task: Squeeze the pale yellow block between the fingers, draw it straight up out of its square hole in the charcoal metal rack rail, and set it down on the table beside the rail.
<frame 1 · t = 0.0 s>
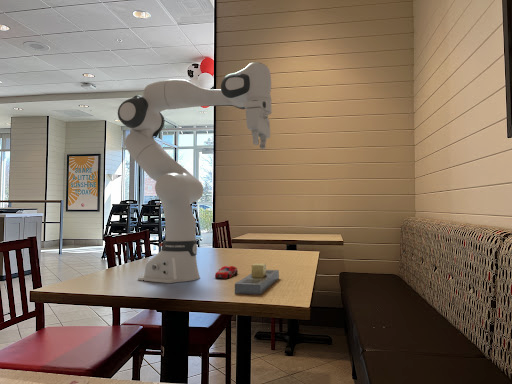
hand: (259, 146, 134), 48 cm above the table, fingers open, 8 cm apart
race car: (226, 277, 144), on the table
pale yellow block: (258, 274, 127), in the rack rail
rack rail: (259, 285, 127), on the table
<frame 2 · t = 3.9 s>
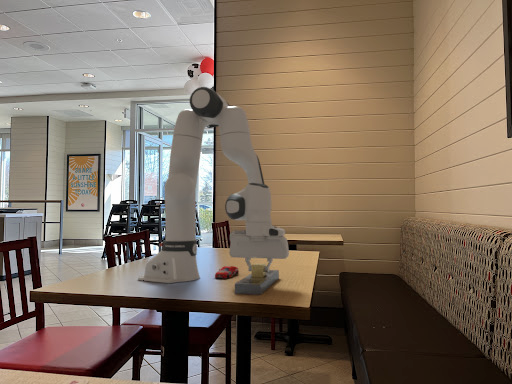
hand: (258, 271, 127), 5 cm above the table, fingers closed on pale yellow block, 4 cm apart
pale yellow block: (258, 274, 127), in the rack rail, touching gripper
everything else where it was.
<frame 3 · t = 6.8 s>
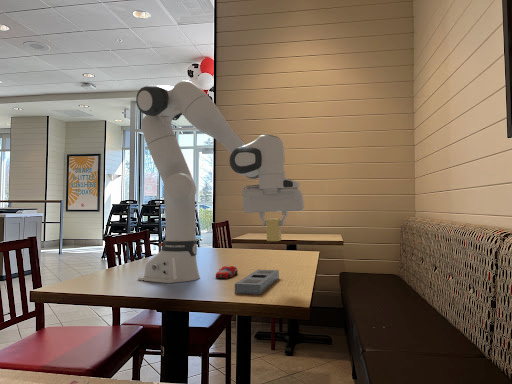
hand: (273, 226, 123), 20 cm above the table, fingers closed on pale yellow block, 4 cm apart
pale yellow block: (273, 229, 123), point 19 cm above the table, touching gripper
everything else where it was.
when the fingers open (6 cm above the table, at t = 10.0 s): pale yellow block drops 1 cm, on the table.
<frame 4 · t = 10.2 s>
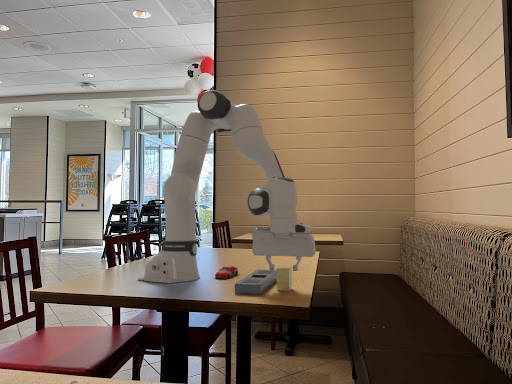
hand: (283, 270, 120), 6 cm above the table, fingers open, 6 cm apart
pale yellow block: (284, 278, 120), on the table
everything else where it was.
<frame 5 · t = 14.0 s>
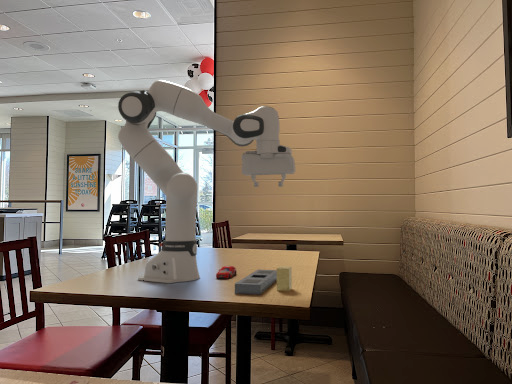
hand: (268, 186, 141), 34 cm above the table, fingers open, 8 cm apart
nothing on the table moved.
at the end: pale yellow block inside the target area (0.3 cm from its centre), on the table; pale yellow block tilted 0°; pale yellow block touching table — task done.
